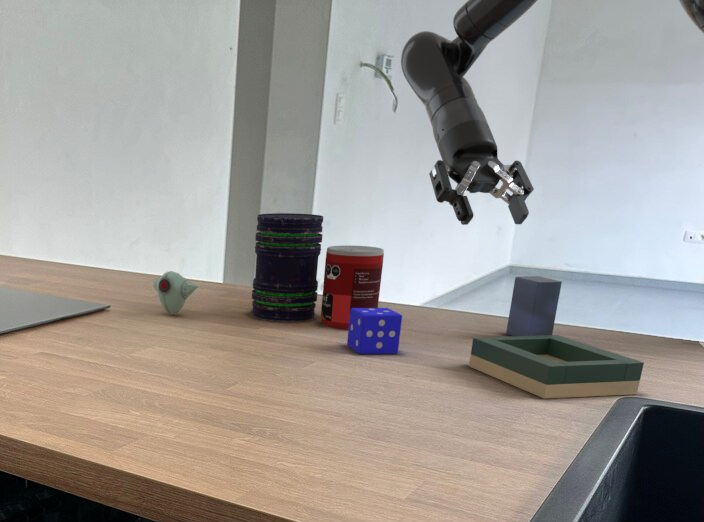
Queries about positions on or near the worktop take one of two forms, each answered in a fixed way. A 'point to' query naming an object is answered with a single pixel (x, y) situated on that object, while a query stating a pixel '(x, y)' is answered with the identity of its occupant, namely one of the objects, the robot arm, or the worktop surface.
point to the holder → (555, 366)
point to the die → (374, 330)
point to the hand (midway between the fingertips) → (495, 220)
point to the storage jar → (286, 266)
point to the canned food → (350, 282)
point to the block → (533, 306)
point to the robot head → (173, 291)
